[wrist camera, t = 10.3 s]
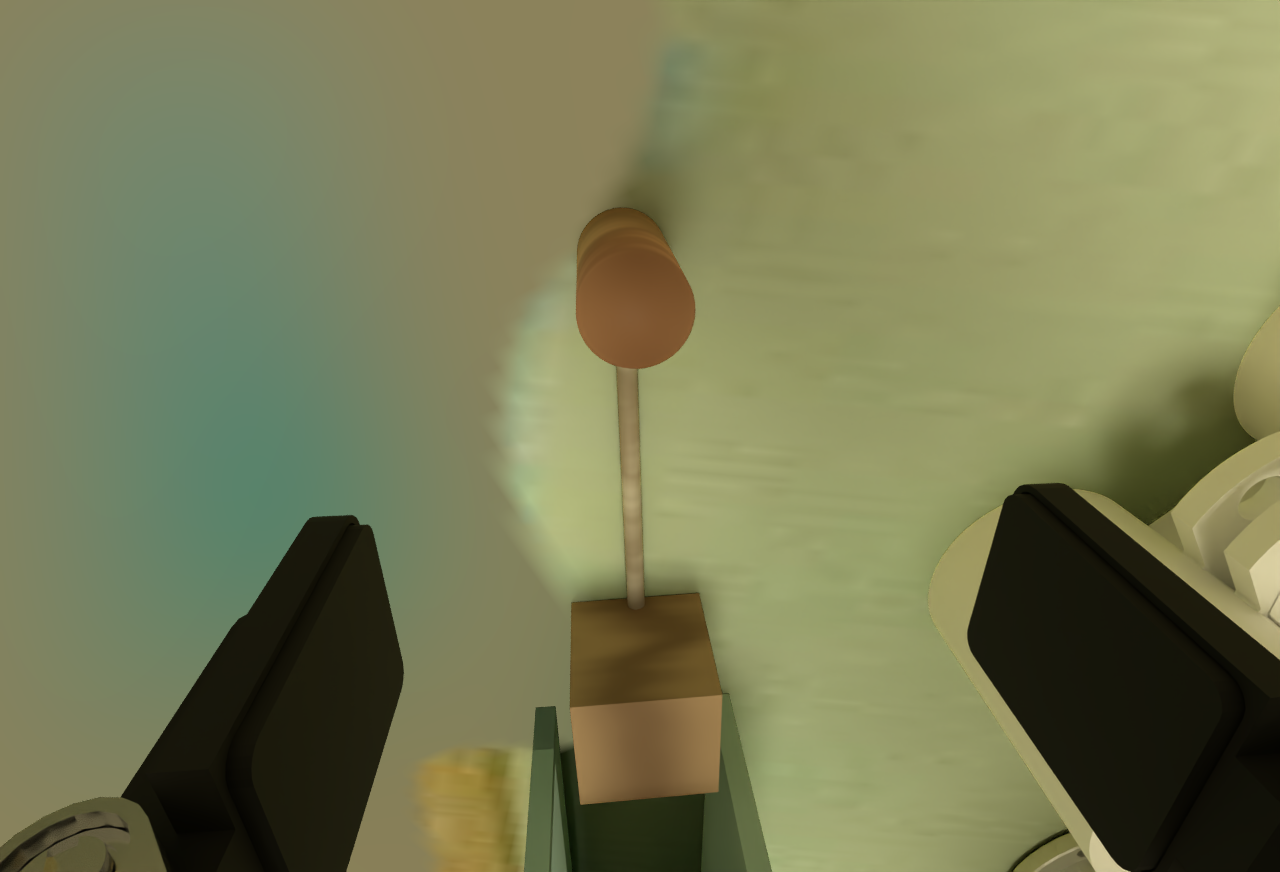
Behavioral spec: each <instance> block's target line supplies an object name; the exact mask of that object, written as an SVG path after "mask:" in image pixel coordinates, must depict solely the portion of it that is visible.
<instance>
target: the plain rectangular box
mask: <svg viewBox="0 0 1280 872" xmlns="http://www.w3.org/2000/svg"><path fill="white" fill-rule="evenodd" d="M534 727H535V728H534V740H533V754H532V769H531V783H530V797H529V811H528V825H527V839H526V853H525V867H524V872H572V864H571V854H570V844H569V835H568V825H567V815H566V805H565V795H564V785H563V776H562V766H561V756H560V746H559V736H558V728H557V727H558V726H557V717H556V707H555V706H551V707H538V708H536V712H535V726H534ZM701 872H772V870H771V865H770V861H769V857H768V853H767V849H766V845H765V841H764V837H763V832H762V828H761V824H760V820H759V816H758V812H757V808H756V804H755V799H754V795H753V791H752V787H751V783H750V779H749V775H748V771H747V767H746V762H745V758H744V754H743V750H742V746H741V742H740V738H739V734H738V729H737V725H736V721H735V717H734V713H733V709H732V705H731V701H730V696H729V694H722V717H721V741H720V765H719V789H718V792H714V793H705V801H704V821H703V841H702V860H701Z"/></svg>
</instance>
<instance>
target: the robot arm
mask: <svg viewBox="0 0 1280 872" xmlns="http://www.w3.org/2000/svg"><path fill="white" fill-rule="evenodd" d="M967 640H968V645H969V648H970V651H971V653H972V654H973V656H974V658H975V659H976V660H977V662H978V663H979V665H980V666H981V668H982V669H983V671H984V672H985V674H986V675H987V677H988V678H989V679H990V681H991V682H992V684H993V685H994V687H995V688H996V690H997V691H998V693H999V694H1000V696H1001V697H1002V698H1003V700H1004V701H1005V703H1006V704H1007V706H1008V707H1009V709H1010V710H1011V712H1012V713H1013V715H1014V716H1015V717H1016V719H1017V720H1018V722H1019V723H1020V725H1021V726H1022V728H1023V729H1024V731H1025V732H1026V734H1027V735H1028V736H1029V738H1030V739H1031V741H1032V742H1033V744H1034V745H1035V747H1036V748H1037V750H1038V751H1039V753H1040V754H1041V755H1042V757H1043V758H1044V760H1045V761H1046V763H1047V764H1048V766H1049V767H1050V769H1051V770H1052V772H1053V773H1054V774H1055V776H1056V777H1057V779H1058V780H1059V782H1060V783H1061V785H1062V786H1063V788H1064V789H1065V791H1066V792H1067V793H1068V795H1069V796H1070V798H1071V799H1072V801H1073V802H1074V804H1075V805H1076V807H1077V808H1078V810H1079V811H1080V812H1081V814H1082V815H1083V817H1084V818H1085V820H1086V821H1087V823H1088V824H1089V826H1090V827H1091V829H1092V830H1093V831H1094V833H1095V834H1096V836H1097V837H1098V839H1099V840H1100V842H1101V843H1102V845H1103V846H1104V848H1105V849H1106V850H1107V852H1108V853H1109V855H1110V856H1111V858H1112V859H1113V860H1114V861H1115V862H1116V864H1117V865H1119V866H1120V867H1121V868H1122V869H1124V870H1127V871H1130V872H1280V660H1279V659H1278V658H1277V657H1276V656H1275V655H1273V654H1272V653H1271V652H1270V651H1268V650H1267V649H1266V648H1265V647H1264V646H1262V645H1261V644H1260V643H1259V642H1258V641H1256V640H1255V639H1254V638H1253V637H1251V636H1250V635H1249V634H1248V633H1247V632H1245V631H1244V630H1243V629H1242V628H1241V627H1239V626H1238V625H1237V624H1236V623H1234V622H1233V621H1232V620H1231V619H1230V618H1228V617H1227V616H1226V615H1225V614H1224V613H1222V612H1221V611H1220V610H1219V609H1217V608H1216V607H1215V606H1214V605H1213V604H1211V603H1210V602H1209V601H1208V600H1206V599H1205V598H1204V597H1203V596H1202V595H1200V594H1199V593H1198V592H1197V591H1196V590H1194V589H1193V588H1192V587H1191V586H1189V585H1188V584H1187V583H1186V582H1185V581H1183V580H1182V579H1181V578H1180V577H1179V576H1177V575H1176V574H1175V573H1174V572H1172V571H1171V570H1170V569H1169V568H1168V567H1166V566H1165V565H1164V564H1163V563H1162V562H1160V561H1159V560H1158V559H1157V558H1155V557H1154V556H1153V555H1152V554H1151V553H1149V552H1148V551H1147V550H1146V549H1145V548H1143V547H1142V546H1141V545H1140V544H1138V543H1137V542H1136V541H1135V540H1134V539H1132V538H1131V537H1130V536H1129V535H1128V534H1126V533H1125V532H1124V531H1123V530H1121V529H1120V528H1119V527H1118V526H1117V525H1115V524H1114V523H1113V522H1112V521H1111V520H1109V519H1108V518H1107V517H1106V516H1104V515H1103V514H1102V513H1101V512H1100V511H1098V510H1097V509H1096V508H1095V507H1094V506H1092V505H1091V504H1090V503H1089V502H1087V501H1086V500H1085V499H1084V498H1083V497H1081V496H1080V495H1079V494H1078V493H1077V492H1075V491H1074V490H1073V489H1072V488H1070V487H1069V486H1067V485H1065V484H1062V483H1048V484H1026V485H1022V486H1019V487H1018V488H1017V489H1016V490H1015V492H1014V494H1013V495H1010V496H1008V497H1007V498H1006V499H1005V501H1004V503H1003V506H1002V510H1001V513H1000V517H999V520H998V524H997V527H996V531H995V534H994V538H993V541H992V545H991V548H990V552H989V555H988V559H987V562H986V566H985V569H984V573H983V576H982V580H981V583H980V587H979V590H978V594H977V597H976V601H975V604H974V608H973V611H972V615H971V618H970V622H969V625H968V629H967ZM403 674H404V670H403V661H402V656H401V652H400V648H399V643H398V639H397V634H396V630H395V626H394V621H393V617H392V613H391V608H390V604H389V600H388V595H387V591H386V587H385V582H384V578H383V573H382V569H381V565H380V561H379V556H378V552H377V547H376V543H375V538H374V534H373V531H372V528H371V527H370V526H369V525H360V524H359V521H358V520H357V518H356V517H355V516H353V515H346V516H322V517H312V518H309V520H308V521H307V522H306V523H305V525H304V526H303V528H302V529H301V531H300V533H299V534H298V536H297V537H296V539H295V540H294V542H293V543H292V545H291V546H290V548H289V550H288V551H287V553H286V554H285V556H284V557H283V559H282V561H281V562H280V564H279V565H278V567H277V568H276V570H275V571H274V573H273V575H272V576H271V578H270V579H269V581H268V583H267V584H266V586H265V587H264V589H263V590H262V592H261V594H260V595H259V596H258V598H257V600H256V601H255V603H254V604H253V606H252V607H251V609H250V610H249V612H248V614H247V615H245V616H243V617H241V618H239V619H238V620H237V622H236V623H235V624H234V625H233V626H232V627H231V629H230V631H229V632H228V634H227V635H226V637H225V638H224V640H223V641H222V643H221V645H220V646H219V648H218V649H217V650H216V652H215V654H214V655H213V657H212V658H211V660H210V661H209V663H208V664H207V666H206V667H205V669H204V670H203V672H202V673H201V675H200V676H199V678H198V679H197V681H196V683H195V684H194V686H193V687H192V689H191V690H190V692H189V693H188V695H187V696H186V698H185V699H184V701H183V702H182V704H181V705H180V707H179V709H178V710H177V712H176V713H175V715H174V716H173V718H172V719H171V721H170V722H169V724H168V725H167V727H166V728H165V730H164V731H163V733H162V735H161V736H160V738H159V739H158V741H157V742H156V744H155V745H154V747H153V748H152V750H151V751H150V753H149V754H148V756H147V758H146V759H145V761H144V762H143V764H142V765H141V767H140V768H139V770H138V771H137V773H136V774H135V776H134V777H133V779H132V780H131V782H130V783H129V785H128V787H127V788H126V790H125V791H124V793H123V794H122V796H121V797H98V798H94V799H90V800H86V801H82V802H78V803H74V804H71V805H69V806H67V807H64V808H62V809H60V810H58V811H55V812H53V813H51V814H49V815H46V816H44V817H42V818H41V819H39V820H38V821H36V822H35V823H33V824H31V825H30V826H28V827H27V828H25V829H23V830H22V831H20V832H19V833H17V834H15V835H14V836H13V837H12V838H11V839H10V840H8V841H7V842H6V843H5V844H4V845H2V846H1V847H0V872H346V870H347V867H348V864H349V861H350V857H351V854H352V850H353V847H354V844H355V841H356V837H357V834H358V831H359V828H360V824H361V821H362V818H363V814H364V811H365V808H366V805H367V801H368V798H369V795H370V792H371V788H372V785H373V782H374V778H375V775H376V772H377V768H378V765H379V762H380V758H381V755H382V752H383V749H384V745H385V742H386V739H387V736H388V732H389V729H390V726H391V722H392V719H393V716H394V713H395V709H396V706H397V703H398V699H399V696H400V693H401V689H402V685H403ZM1013 872H1096V871H1095V870H1094V868H1093V867H1092V865H1091V864H1090V862H1089V861H1088V859H1087V858H1086V856H1085V855H1084V853H1083V851H1082V850H1081V848H1080V847H1079V845H1078V844H1077V842H1076V841H1075V839H1074V838H1073V836H1072V835H1071V833H1068V834H1065V835H1063V836H1060V837H1058V838H1056V839H1054V840H1053V841H1051V842H1049V843H1047V844H1045V845H1043V846H1042V847H1040V848H1039V849H1037V850H1036V851H1035V852H1033V853H1032V854H1030V855H1029V856H1028V857H1027V858H1025V859H1024V860H1023V861H1022V862H1021V863H1020V864H1019V865H1018V866H1017V867H1016V868H1015V869H1014V871H1013Z"/></svg>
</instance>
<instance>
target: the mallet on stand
mask: <svg viewBox="0 0 1280 872" xmlns="http://www.w3.org/2000/svg"><path fill="white" fill-rule="evenodd" d="M576 319H577V325H578V328H579V331H580V334H581V336H582V338H583V340H584V341H585V343H586V345H587V346H588V347H589V348H590V350H591V351H592V352H593V353H594V354H596V355H597V356H598V357H599V358H601V359H602V360H604V361H606V362H608V363H610V364H612V365H615V366H616V370H617V392H618V413H619V434H620V455H621V476H622V497H623V518H624V540H625V561H626V582H627V598H626V599H613V600H599V601H586V602H573V603H572V605H571V665H570V669H571V671H570V713H571V723H572V732H573V742H574V751H575V760H576V769H577V778H578V787H579V796H580V805H582V804H593V803H604V802H615V801H626V800H637V799H648V798H659V797H670V796H681V795H692V794H703V793H714V792H718V789H719V765H720V741H721V717H722V691H721V687H720V682H719V678H718V674H717V669H716V665H715V661H714V656H713V652H712V648H711V643H710V639H709V635H708V631H707V626H706V622H705V618H704V613H703V609H702V605H701V600H700V596H699V593H693V594H680V595H666V596H653V597H645V596H644V565H643V533H642V502H641V470H640V439H639V407H638V376H637V369H640V368H647V367H651V366H654V365H657V364H660V363H661V362H663V361H665V360H667V359H668V358H670V357H671V356H673V355H674V354H675V353H676V352H677V351H678V350H679V349H680V348H681V347H682V346H683V344H684V343H685V341H686V340H687V338H688V336H689V334H690V332H691V330H692V327H693V323H694V319H695V301H694V295H693V292H692V289H691V287H690V285H689V283H688V281H687V279H686V277H685V275H684V273H683V272H682V270H681V268H680V266H679V264H678V262H677V260H676V259H675V257H674V255H673V253H672V251H671V249H670V247H669V246H668V244H667V242H666V240H665V238H664V236H663V234H662V233H661V231H660V229H659V227H658V226H657V225H656V223H655V222H654V221H653V220H652V219H651V218H649V217H648V216H647V215H645V214H644V213H642V212H640V211H637V210H634V209H630V208H613V209H609V210H606V211H604V212H602V213H600V214H598V215H597V216H595V217H594V218H593V219H592V220H591V221H590V222H589V223H588V224H587V225H586V227H585V228H584V230H583V231H582V233H581V236H580V238H579V242H578V248H577V287H576Z"/></svg>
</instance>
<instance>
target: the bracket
mask: <svg viewBox="0 0 1280 872" xmlns="http://www.w3.org/2000/svg"><path fill="white" fill-rule="evenodd" d="M1233 400H1234V408H1235V413H1236V416H1237V418H1238V421H1239V423H1240V424H1241V426H1242V427H1243V429H1244V430H1245V431H1246V432H1247V433H1248V434H1249V435H1250V436H1251V437H1253V438H1254V439H1256V440H1258V441H1257V442H1255V443H1253V444H1251V445H1249V446H1247V447H1246V448H1244V449H1242V450H1241V451H1239V452H1237V453H1236V454H1234V455H1233V456H1231V457H1230V458H1228V459H1227V460H1225V461H1224V462H1222V463H1221V464H1220V465H1218V466H1217V467H1216V468H1214V469H1213V470H1212V471H1211V472H1209V473H1208V474H1207V475H1206V476H1205V477H1204V478H1202V479H1201V480H1200V481H1199V482H1198V483H1197V484H1196V485H1195V486H1194V487H1193V488H1192V489H1191V490H1190V491H1189V492H1188V493H1187V494H1186V495H1185V496H1184V497H1183V498H1182V499H1181V500H1180V502H1179V503H1178V504H1177V505H1176V507H1175V508H1173V509H1172V510H1170V511H1169V512H1167V513H1166V514H1165V515H1163V516H1162V517H1160V518H1159V519H1157V520H1156V521H1155V522H1153V523H1152V524H1150V525H1149V526H1147V525H1146V524H1145V523H1143V522H1142V521H1141V520H1139V519H1138V518H1136V517H1135V516H1134V515H1132V514H1131V513H1129V512H1128V511H1127V510H1125V509H1124V508H1123V507H1121V506H1120V505H1118V504H1117V503H1116V502H1114V501H1113V500H1111V499H1109V498H1107V497H1106V496H1103V495H1101V494H1098V493H1095V492H1091V491H1086V490H1080V489H1073V490H1074V491H1075V492H1077V493H1078V494H1079V495H1080V496H1081V497H1083V498H1084V499H1085V500H1086V501H1087V502H1089V503H1090V504H1091V505H1092V506H1094V507H1095V508H1096V509H1097V510H1098V511H1100V512H1101V513H1102V514H1103V515H1104V516H1106V517H1107V518H1108V519H1109V520H1111V521H1112V522H1113V523H1114V524H1115V525H1117V526H1118V527H1119V528H1120V529H1121V530H1123V531H1124V532H1125V533H1126V534H1128V535H1129V536H1130V537H1131V538H1132V539H1134V540H1135V541H1136V542H1137V543H1138V544H1140V545H1141V546H1142V547H1143V548H1145V549H1146V550H1147V551H1148V552H1149V553H1151V554H1152V555H1153V556H1154V557H1155V558H1157V559H1158V560H1159V561H1160V562H1162V563H1163V564H1164V565H1165V566H1166V567H1168V568H1169V569H1170V570H1171V571H1172V572H1174V573H1175V574H1176V575H1177V576H1179V577H1180V578H1181V579H1182V580H1183V581H1185V582H1186V583H1187V584H1188V585H1189V586H1191V587H1192V588H1193V589H1194V590H1196V591H1197V592H1198V593H1199V594H1200V595H1202V596H1203V597H1204V598H1205V599H1206V600H1208V601H1209V602H1210V603H1211V604H1213V605H1214V606H1215V607H1216V608H1217V609H1219V610H1220V611H1221V612H1222V613H1224V614H1225V615H1226V616H1227V617H1228V618H1230V619H1231V620H1232V621H1233V622H1234V623H1236V624H1237V625H1238V626H1239V627H1241V628H1242V629H1243V630H1244V631H1245V632H1247V633H1248V634H1249V635H1250V636H1251V637H1253V638H1254V639H1255V640H1256V641H1258V642H1259V643H1260V644H1261V645H1262V646H1264V647H1265V648H1266V649H1267V650H1268V651H1270V652H1271V653H1272V654H1273V655H1275V656H1276V657H1277V658H1278V659H1279V660H1280V306H1279V307H1278V308H1277V309H1276V310H1275V311H1274V312H1273V314H1272V315H1271V316H1270V317H1269V318H1268V319H1267V321H1266V322H1265V323H1264V324H1263V326H1262V327H1261V328H1260V330H1259V331H1258V332H1257V334H1256V335H1255V337H1254V338H1253V340H1252V341H1251V343H1250V345H1249V347H1248V349H1247V350H1246V352H1245V354H1244V356H1243V359H1242V361H1241V363H1240V366H1239V369H1238V372H1237V375H1236V379H1235V385H1234V395H1233ZM1002 506H1003V505H1001V506H999V507H997V508H995V509H993V510H992V511H990V512H988V513H987V514H985V515H984V516H982V517H981V518H979V519H978V520H977V521H975V522H974V523H973V524H971V525H970V526H969V527H968V528H967V529H965V530H964V531H963V532H962V533H961V534H960V535H959V536H958V537H957V538H956V539H955V540H954V542H953V543H952V544H951V545H950V546H949V548H948V549H947V550H946V552H945V553H944V554H943V556H942V558H941V559H940V561H939V563H938V565H937V566H936V568H935V571H934V573H933V576H932V579H931V582H930V586H929V592H928V606H929V612H930V616H931V618H932V621H933V623H934V625H935V626H936V628H937V630H938V631H939V633H940V634H941V636H942V637H943V639H944V640H945V642H946V643H947V645H948V647H949V648H950V650H951V651H952V653H953V654H954V656H955V657H956V659H957V660H958V662H959V663H960V665H961V666H962V668H963V669H964V671H965V673H966V674H967V676H968V677H969V679H970V680H971V682H972V683H973V685H974V686H975V688H976V689H977V691H978V692H979V694H980V695H981V697H982V699H983V700H984V702H985V703H986V705H987V706H988V708H989V709H990V711H991V712H992V714H993V715H994V717H995V718H996V720H997V721H998V723H999V725H1000V726H1001V728H1002V729H1003V731H1004V732H1005V734H1006V735H1007V737H1008V738H1009V740H1010V741H1011V743H1012V744H1013V746H1014V747H1015V749H1016V751H1017V752H1018V754H1019V755H1020V757H1021V758H1022V760H1023V761H1024V763H1025V764H1026V766H1027V767H1028V769H1029V770H1030V772H1031V773H1032V775H1033V777H1034V778H1035V780H1036V781H1037V783H1038V784H1039V786H1040V787H1041V789H1042V790H1043V792H1044V793H1045V795H1046V796H1047V798H1048V799H1049V801H1050V803H1051V804H1052V806H1053V807H1054V809H1055V810H1056V812H1057V813H1058V815H1059V816H1060V818H1061V819H1062V821H1063V822H1064V824H1065V825H1066V827H1067V829H1068V830H1069V832H1070V833H1071V835H1072V836H1073V838H1074V839H1075V841H1076V842H1077V844H1078V845H1079V847H1080V848H1081V850H1082V851H1083V853H1084V855H1085V856H1086V858H1087V859H1088V861H1089V862H1090V864H1091V865H1092V867H1093V868H1094V870H1095V871H1096V872H1130V871H1127V870H1124V869H1122V868H1121V867H1120V866H1119V865H1117V864H1116V862H1115V861H1114V860H1113V859H1112V858H1111V856H1110V855H1109V853H1108V852H1107V850H1106V849H1105V848H1104V846H1103V845H1102V843H1101V842H1100V840H1099V839H1098V837H1097V836H1096V834H1095V833H1094V831H1093V830H1092V829H1091V827H1090V826H1089V824H1088V823H1087V821H1086V820H1085V818H1084V817H1083V815H1082V814H1081V812H1080V811H1079V810H1078V808H1077V807H1076V805H1075V804H1074V802H1073V801H1072V799H1071V798H1070V796H1069V795H1068V793H1067V792H1066V791H1065V789H1064V788H1063V786H1062V785H1061V783H1060V782H1059V780H1058V779H1057V777H1056V776H1055V774H1054V773H1053V772H1052V770H1051V769H1050V767H1049V766H1048V764H1047V763H1046V761H1045V760H1044V758H1043V757H1042V755H1041V754H1040V753H1039V751H1038V750H1037V748H1036V747H1035V745H1034V744H1033V742H1032V741H1031V739H1030V738H1029V736H1028V735H1027V734H1026V732H1025V731H1024V729H1023V728H1022V726H1021V725H1020V723H1019V722H1018V720H1017V719H1016V717H1015V716H1014V715H1013V713H1012V712H1011V710H1010V709H1009V707H1008V706H1007V704H1006V703H1005V701H1004V700H1003V698H1002V697H1001V696H1000V694H999V693H998V691H997V690H996V688H995V687H994V685H993V684H992V682H991V681H990V679H989V678H988V677H987V675H986V674H985V672H984V671H983V669H982V668H981V666H980V665H979V663H978V662H977V660H976V659H975V658H974V656H973V654H972V653H971V651H970V648H969V645H968V640H967V629H968V625H969V622H970V618H971V615H972V611H973V608H974V604H975V601H976V597H977V594H978V590H979V587H980V583H981V580H982V576H983V573H984V569H985V566H986V562H987V559H988V555H989V552H990V548H991V545H992V541H993V538H994V534H995V531H996V527H997V524H998V520H999V517H1000V513H1001V510H1002Z"/></svg>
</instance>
